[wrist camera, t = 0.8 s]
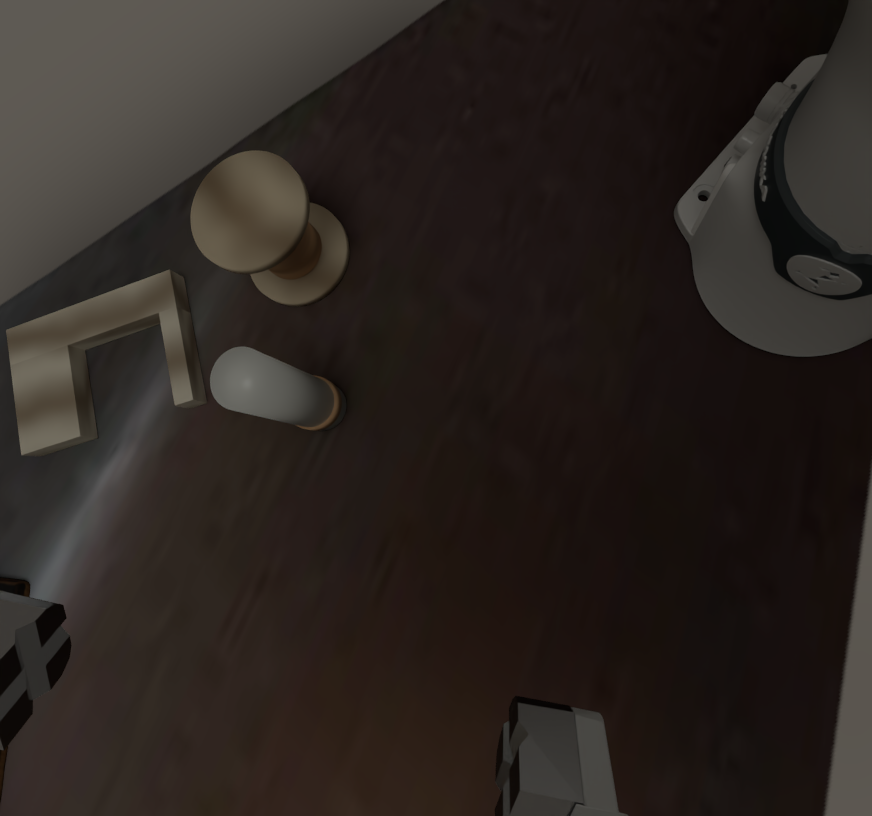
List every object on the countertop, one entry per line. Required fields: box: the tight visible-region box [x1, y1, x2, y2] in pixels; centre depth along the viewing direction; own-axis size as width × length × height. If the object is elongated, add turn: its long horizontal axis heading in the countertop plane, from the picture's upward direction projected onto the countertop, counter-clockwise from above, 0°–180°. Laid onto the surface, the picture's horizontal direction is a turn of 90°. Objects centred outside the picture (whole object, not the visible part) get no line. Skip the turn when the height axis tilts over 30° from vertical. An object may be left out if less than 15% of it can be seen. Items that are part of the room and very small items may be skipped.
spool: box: [191, 151, 350, 307], centre depth 47 cm, size 9×9×9 cm
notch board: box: [6, 270, 207, 456], centre depth 53 cm, size 12×18×2 cm
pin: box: [210, 347, 347, 431], centre depth 43 cm, size 4×4×13 cm
